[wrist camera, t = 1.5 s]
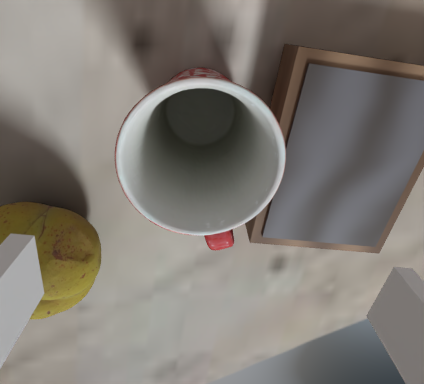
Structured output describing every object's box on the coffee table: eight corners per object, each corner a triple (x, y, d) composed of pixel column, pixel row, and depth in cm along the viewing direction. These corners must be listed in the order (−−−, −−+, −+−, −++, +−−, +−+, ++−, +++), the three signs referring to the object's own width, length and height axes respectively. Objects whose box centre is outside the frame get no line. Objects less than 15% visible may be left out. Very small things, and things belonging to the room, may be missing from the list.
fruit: (92, 170, 30) (49, 228, 21) (126, 258, 36) (104, 333, 27) (-15, 188, 31) (-99, 252, 22) (36, 273, 36) (-14, 351, 27)
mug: (138, 63, 26) (88, 94, 14) (243, 46, 25) (284, 62, 14) (169, 191, 32) (153, 289, 20) (254, 178, 31) (289, 270, 20)
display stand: (244, 220, 34) (250, 244, 30) (284, 43, 25) (299, 46, 22) (360, 230, 35) (380, 255, 32) (435, 67, 27) (474, 74, 23)
